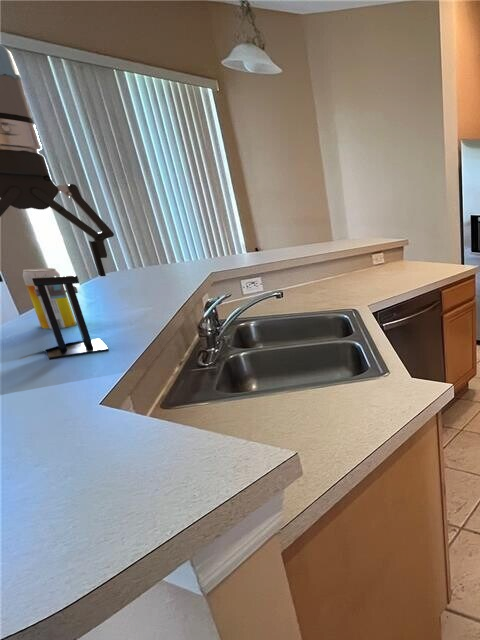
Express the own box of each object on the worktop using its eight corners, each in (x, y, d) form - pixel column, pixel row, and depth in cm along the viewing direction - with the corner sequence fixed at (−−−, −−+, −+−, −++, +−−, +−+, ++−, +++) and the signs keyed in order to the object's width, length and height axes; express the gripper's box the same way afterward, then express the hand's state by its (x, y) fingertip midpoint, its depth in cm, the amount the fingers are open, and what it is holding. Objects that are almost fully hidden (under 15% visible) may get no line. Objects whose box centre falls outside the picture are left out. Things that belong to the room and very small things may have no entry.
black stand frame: (110, 354, 93) (87, 283, 88) (50, 363, 87) (22, 287, 82) (101, 343, 100) (80, 277, 95) (45, 351, 94) (19, 280, 89)
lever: (80, 284, 84) (76, 272, 83) (35, 288, 80) (30, 274, 79) (78, 296, 92) (74, 285, 92) (38, 300, 88) (33, 288, 88)
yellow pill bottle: (77, 328, 112) (57, 267, 107) (78, 332, 108) (57, 270, 103) (43, 331, 108) (21, 269, 103) (43, 336, 104) (20, 271, 99)
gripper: (-115, 137, 63) (-52, 286, 71) (112, 157, 81) (142, 275, 89) (-109, 141, 68) (-51, 280, 76) (105, 159, 85) (134, 271, 93)
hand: (54, 278), depth 82 cm, fingers open, 13 cm apart
